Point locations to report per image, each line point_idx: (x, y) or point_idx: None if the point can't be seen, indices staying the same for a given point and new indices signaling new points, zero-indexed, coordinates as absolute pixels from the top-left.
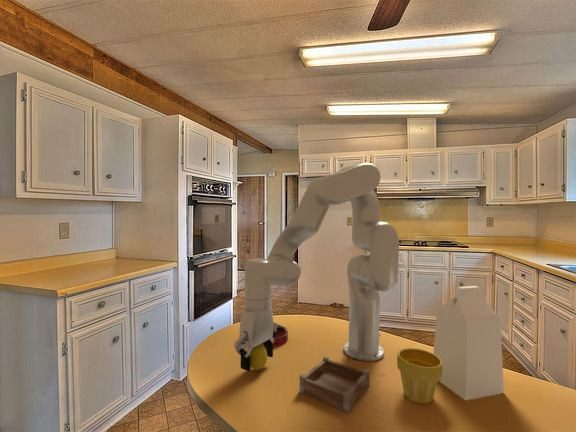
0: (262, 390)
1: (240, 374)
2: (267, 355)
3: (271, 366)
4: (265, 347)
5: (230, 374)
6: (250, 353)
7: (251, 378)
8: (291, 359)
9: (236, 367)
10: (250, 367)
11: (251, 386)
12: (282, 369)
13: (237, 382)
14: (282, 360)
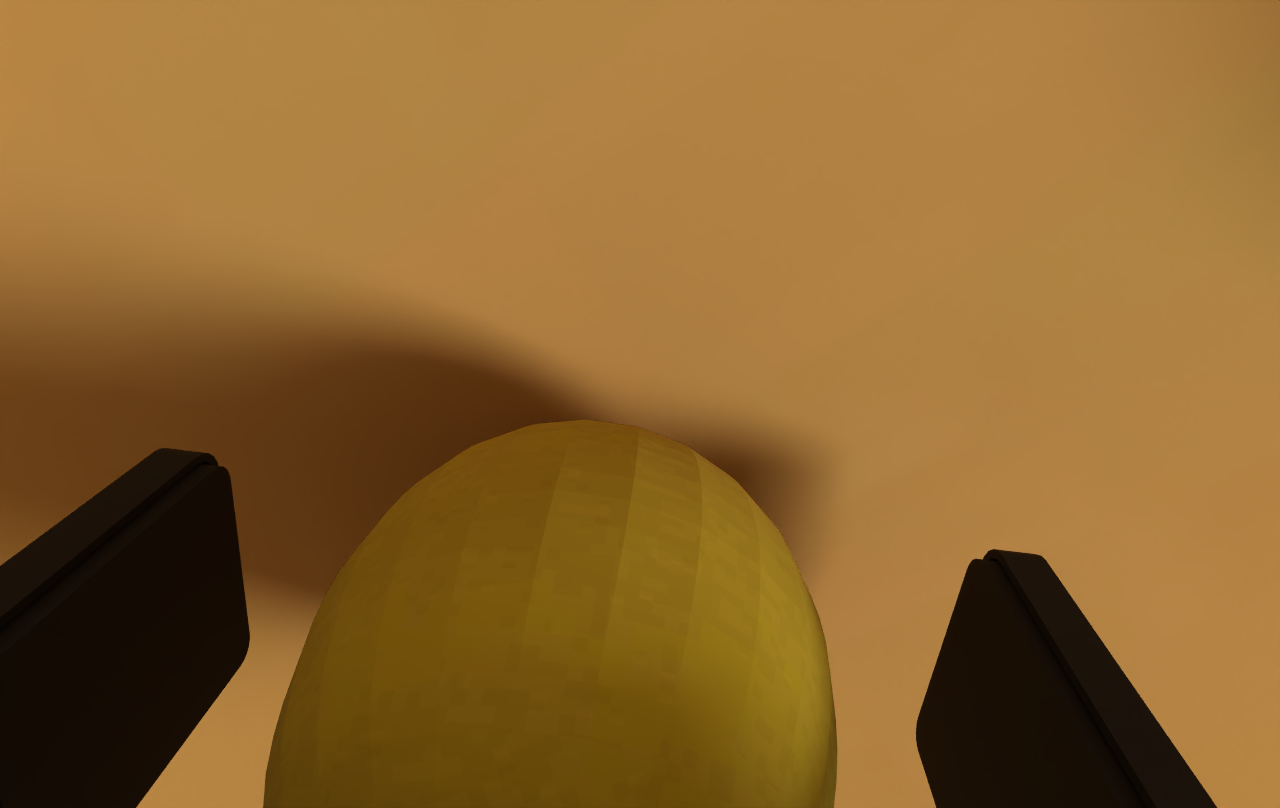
0: (243, 788)
1: (322, 321)
2: (943, 662)
3: (856, 626)
4: (1030, 759)
5: (189, 147)
6: (267, 766)
7: (355, 546)
8: (1227, 780)
9: (468, 67)
10: (217, 691)
11: None
12: (845, 787)
13: (118, 428)
14: (1141, 684)
